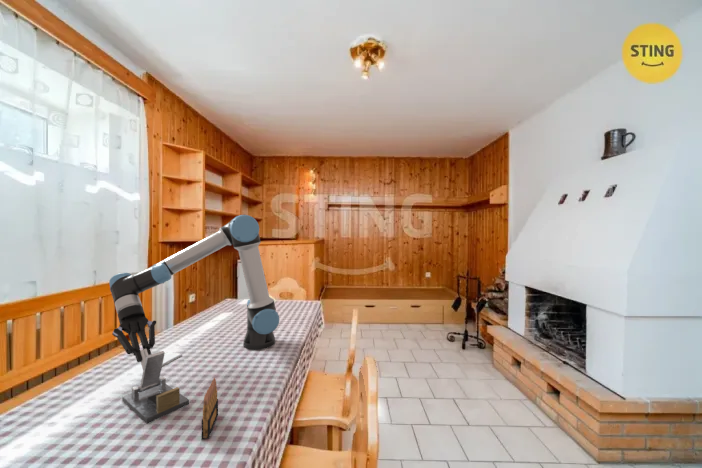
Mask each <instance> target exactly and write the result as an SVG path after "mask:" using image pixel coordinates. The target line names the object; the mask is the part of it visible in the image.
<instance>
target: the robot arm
mask: <svg viewBox="0 0 702 468" xmlns="http://www.w3.org/2000/svg"><path fill="white" fill-rule="evenodd" d="M260 244H261V238H260V225H259V222H258V221H257V220H256V219H255V217H253V216H252V215H248V214H240V215H236V216H235V217H234V218H232V219H231V220H230V221H229V222H228V223H226V224H225V225H222V226H221V227H219V229H218V231H216V232H214V233H212V234H210V235H208V236H207V237H205V238H203V239H200V240H199V241H197V242H195V243H193V244H192V245H189V246H187V247H186V248H184V249H182V250H180V251H178V252H175V253H174V254H172V255H170V256H168V257H167V258H164V259H163V260H161V261H159V262H156V263H154V264H153V265H150V267H148V268H146V269H144V270H142V271H139V272H137V273H134V274H131V273H130V272H122V273H117V274H114V275H113V276H111V278H110V279H109V281H108V282H109V291H110V293H111V296H112V300H113V302H114V306H115V310H116V313H117V318H118V319H117V320H118V321H119V326H118V327H117V328H114V330H113V331H112V336H114V338H116V339H117V340H118V342H119V343H120V345H121V346H122V347H123V350H124V351H125V352H126V354H127V355H131V354H132V355H133V356H135V360H136V362H137V363H140V364H141V367H142V371H143V370H144V364H145V359H146V356H147V355H151V354H152V351H151V349H153V348H154V347H155V345H156V333H155V331H156V330H155V327H156V324H157V320H153V321H151V320H149V318H148V317H146V314H145V310H144V307H143V304H142V301H141V298H140V295H139V294H141V293H143V292H145V291H147V290H151V289H152V288H155V287H158V286H159V285H161V284H164V283H166V282H168V281H169V280H171V279H172V276H173V275H175V274H177V273H178V272H180V271H183V269H187V268H188V267H189V266H191V265H193V264H195V263H196V262H199V261H201V260H202V259H204V258H206V257H208V256H210V255H211V254H213V253H215V252H217V251H219V250H221V249H222V248H224V247H226V246H233V248H234V249H235V250H236V251H238V255H239V259H240V263H241V268H242V272H243V273H242V274H243V275H244V280H245V286H246V290H247V293H248V300H247V302H246V303H247V305H246V309H247V310H246V313H247V314H246V316H247V317H246V319H247V320H246V321H247V322H246V325H247V326H246V328H247V329H246V333H245V336H244V339H243V348H244V349H246V350H250V351H251V350H252V351H258V350H259V351H260V350H265V349H269V348H271V347H273V346H274V345H275V344H276V337H275V335H274V331H275V330H276V329H277V328H278V326H279V323H280V315H279V313H278V312H277V309H276V304H275V300H274V298H272V297H271V296H270V293H269V289H268V285H267V280H266V276H265V272H264V266H263V262H262V257H261V253H260V249H259V246H260ZM146 327H147V328H148V337H147V334H146V331H145V328H146ZM125 333H126V334H127V335H128V338H129V339H130V341H129V340H128V338H127V337H126V335H125ZM138 337H139V339H138ZM139 341H140V343H139ZM140 344H141V345H140ZM140 346H142V349H141V347H140Z"/></svg>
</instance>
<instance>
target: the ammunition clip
mask: <svg viewBox="0 0 702 468" xmlns="http://www.w3.org/2000/svg"><path fill="white" fill-rule="evenodd" d="M217 388H218V387H217V379H216V378H215V377H213V379H212V380H211V383H210V384H209V387H208V389H206V392H205V394H204V398H203V408H202V419H201V440H209V439H210V437H211V435H212V432H213V429H214V427H215V424H216V421H217V419H218V417H219V398H218V389H217Z"/></svg>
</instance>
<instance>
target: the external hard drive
mask: <svg viewBox="0 0 702 468" xmlns="http://www.w3.org/2000/svg"><path fill="white" fill-rule="evenodd" d="M164 353H165V352H164ZM182 355H183V354H182V353H177V352H166V353H165V354H164V359H163V364H162V367H164V366H166V365H167V364H169V363H172V362H173V361H175V360H177V359H178V358H181V357H182Z"/></svg>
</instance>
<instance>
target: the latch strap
mask: <svg viewBox="0 0 702 468" xmlns="http://www.w3.org/2000/svg"><path fill="white" fill-rule="evenodd" d="M164 354H165V351H164V350H161V351H158V352H155V353H151V355H147V356H146V359H145V364H144V370H143V369H142V375H141V376H142V377H141V380H140V385H139V386H137V387H138V388H139V393H140V392H143V391H146V390H148V389H151V388H153V387H156V386H159V385H160V380H159V378H160V377H161V373H162V367H163V366H162V364H163V359H164Z"/></svg>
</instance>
